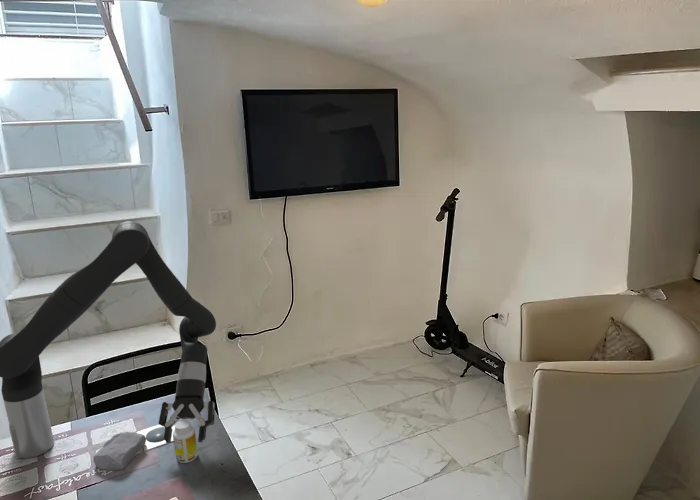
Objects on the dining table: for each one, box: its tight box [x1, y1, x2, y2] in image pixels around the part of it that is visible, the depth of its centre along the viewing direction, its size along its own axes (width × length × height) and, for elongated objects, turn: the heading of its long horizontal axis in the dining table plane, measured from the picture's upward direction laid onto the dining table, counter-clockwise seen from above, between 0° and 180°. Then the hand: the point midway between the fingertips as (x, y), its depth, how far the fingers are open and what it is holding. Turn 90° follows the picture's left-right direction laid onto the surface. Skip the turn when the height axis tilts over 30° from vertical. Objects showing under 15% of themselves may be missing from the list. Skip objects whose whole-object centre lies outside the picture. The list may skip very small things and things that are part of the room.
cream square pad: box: [136, 423, 175, 452], centre depth 152 cm, size 10×10×1 cm
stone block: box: [92, 431, 146, 471], centre depth 143 cm, size 12×5×10 cm
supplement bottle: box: [173, 419, 199, 464], centre depth 141 cm, size 6×6×10 cm
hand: (184, 442), depth 141 cm, fingers open, 8 cm apart
